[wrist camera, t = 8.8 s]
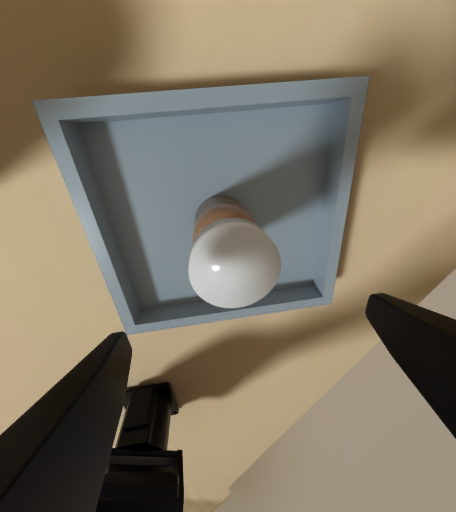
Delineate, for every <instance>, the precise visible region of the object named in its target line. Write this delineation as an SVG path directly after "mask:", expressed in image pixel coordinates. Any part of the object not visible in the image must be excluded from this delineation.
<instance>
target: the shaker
mask: <svg viewBox="0 0 456 512" xmlns="http://www.w3.org/2000/svg"><path fill="white" fill-rule="evenodd" d="M280 271H281V258H280V254H279V251H278V249H277V247H276V245H275V244H274V242H273V241H272V240H271V239H270V237H269V236H268V235H267V234H266V232H265V231H264V230H263V229H262V228H261V227H260V226H258V225H257V224H256V222H255V221H254V220H253V218H252V217H251V216H250V215H249V213H248V212H247V211H246V209H245V208H244V207H243V205H242V204H241V203H240V202H239V201H238V200H236V199H235V198H233V197H231V196H227V195H216V196H212V197H210V198H208V199H206V200H205V201H204V202H202V204H201V205H200V206H199V207H198V209H197V211H196V214H195V219H194V231H193V244H192V247H191V250H190V257H189V269H188V273H189V279H190V283H191V285H192V287H193V289H194V290H195V292H196V293H197V294H198V295H199V296H200V297H201V298H202V299H203V300H205V301H206V302H208V303H210V304H212V305H215V306H218V307H222V308H240V307H245V306H248V305H251V304H253V303H255V302H257V301H259V300H260V299H262V298H263V297H265V296H266V295H267V294H268V293H269V292H270V291H271V290H272V288H273V287H274V286H275V284H276V282H277V280H278V278H279V275H280Z"/></svg>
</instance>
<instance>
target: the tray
mask: <svg viewBox="0 0 456 512" xmlns="http://www.w3.org/2000/svg"><path fill="white" fill-rule="evenodd" d="M369 77H370V76H358V77H345V78H331V79H317V80H304V81H290V82H277V83H263V84H249V85H236V86H222V87H209V88H195V89H181V90H168V91H154V92H141V93H127V94H113V95H100V96H86V97H73V98H59V99H45V100H32V103H33V106H34V108H35V110H36V113H37V115H38V118H39V120H40V123H41V125H42V128H43V130H44V133H45V135H46V137H47V140H48V142H49V145H50V147H51V150H52V152H53V155H54V157H55V160H56V162H57V164H58V167H59V169H60V172H61V174H62V177H63V179H64V182H65V184H66V187H67V189H68V191H69V194H70V196H71V199H72V201H73V204H74V206H75V209H76V211H77V214H78V216H79V218H80V221H81V223H82V226H83V228H84V231H85V233H86V236H87V238H88V241H89V243H90V245H91V248H92V250H93V253H94V255H95V258H96V260H97V263H98V265H99V268H100V270H101V272H102V275H103V277H104V280H105V282H106V285H107V287H108V290H109V292H110V295H111V297H112V299H113V302H114V304H115V307H116V309H117V312H118V314H119V317H120V319H121V322H122V324H123V326H124V329H125V331H126V334H127V335H130V334H136V333H143V332H150V331H156V330H163V329H169V328H176V327H183V326H189V325H196V324H202V323H209V322H215V321H222V320H229V319H235V318H242V317H248V316H255V315H261V314H268V313H275V312H281V311H288V310H294V309H301V308H307V307H314V306H321V305H327V304H332V298H333V292H334V286H335V280H336V274H337V268H338V262H339V256H340V250H341V244H342V238H343V232H344V226H345V220H346V215H347V209H348V203H349V197H350V191H351V185H352V179H353V173H354V167H355V161H356V155H357V149H358V143H359V137H360V131H361V125H362V119H363V113H364V107H365V101H366V95H367V89H368V83H369ZM216 195H227V196H231V197H233V198H235V199H236V200H238V201H239V202H240V203H241V204H242V205H243V207H244V208H245V209H246V211H247V212H248V213H249V215H250V216H251V217H252V218H253V220H254V221H255V222H256V224H257V225H258V226H260V227H261V228H262V229H263V230H264V231H265V232H266V234H267V235H268V236H269V237H270V239H271V240H272V241H273V242H274V244H275V245H276V247H277V249H278V251H279V254H280V258H281V271H280V275H279V278H278V280H277V282H276V284H275V286H274V287H273V288H272V290H271V291H270V292H269V293H268V294H267V295H266V296H265V297H263V298H262V299H260V300H259V301H257V302H255V303H253V304H251V305H248V306H245V307H240V308H222V307H218V306H215V305H212V304H210V303H208V302H206V301H205V300H203V299H202V298H201V297H200V296H199V295H198V294H197V293H196V292H195V290H194V289H193V287H192V285H191V283H190V279H189V273H188V269H189V257H190V250H191V247H192V244H193V231H194V219H195V214H196V211H197V209H198V207H199V206H200V205H201V204H202V202H204V201H205V200H206V199H208V198H210V197H212V196H216Z"/></svg>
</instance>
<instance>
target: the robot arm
mask: <svg viewBox="0 0 456 512" xmlns="http://www.w3.org/2000/svg"><path fill="white" fill-rule="evenodd" d="M365 313H366V317H367V319H368V320H369V322H370V323H371V325H372V326H373V328H374V329H375V331H376V333H377V334H378V336H379V337H380V339H381V340H382V342H383V343H384V345H385V346H386V348H387V350H388V351H389V353H390V354H391V356H392V357H393V358H394V360H395V361H396V362H397V364H399V366H400V367H401V369H402V370H403V371H404V373H405V374H406V375H407V377H408V378H409V379H410V380H411V382H412V383H413V384H414V386H415V387H416V388H417V389H418V391H419V392H420V393H421V395H422V396H423V397H424V398H425V400H426V401H427V402H428V404H429V405H430V406H431V408H432V409H433V410H434V411H435V413H436V414H437V415H438V417H439V418H440V419H441V420H442V422H443V423H444V424H445V426H446V427H447V428H448V429H449V431H450V432H451V433H452V435H453V436H454V437H455V439H456V320H455V319H452V318H450V317H447V316H444V315H442V314H439V313H436V312H433V311H431V310H428V309H425V308H423V307H420V306H417V305H414V304H412V303H409V302H406V301H404V300H401V299H398V298H395V297H393V296H390V295H387V294H385V293H376V294H372V295H370V296H369V299H368V303H367V307H366V311H365ZM131 358H132V348H131V345H130V343H129V340H128V338H127V335H126V333H125V332H116V333H112V334H110V335H109V336H108V337H107V338H106V339H104V340H103V341H102V342H101V343H100V344H99V345H98V346H97V347H96V348H95V349H94V350H92V351H91V352H90V353H89V354H88V355H87V356H86V357H85V358H84V359H83V360H82V361H81V362H79V363H78V364H77V365H76V366H75V367H74V368H73V369H72V370H71V371H70V372H69V373H67V374H66V375H65V376H64V377H63V378H62V379H61V380H60V381H59V382H58V383H57V384H55V385H54V386H53V387H52V388H51V389H50V390H49V391H48V392H47V393H46V394H45V395H44V396H42V397H41V398H40V399H39V400H38V401H37V402H36V403H35V404H34V405H33V406H32V407H30V408H29V409H28V410H27V411H26V412H25V413H24V414H23V415H22V416H21V417H20V418H18V419H17V420H16V421H15V422H14V423H13V424H12V425H11V426H10V427H9V428H8V429H6V430H5V431H4V432H3V433H2V434H1V435H0V512H183V503H184V484H183V456H182V450H177V451H170V450H167V445H168V436H169V426H170V417H171V415H176V414H178V411H179V408H178V405H177V402H176V399H175V396H174V393H173V390H172V387H171V385H170V384H169V383H164V384H158V385H152V386H146V387H141V388H135V389H129V390H126V389H127V383H128V376H129V370H130V364H131ZM123 406H124V407H125V409H126V411H125V415H124V418H123V422H122V426H121V429H120V433H119V436H118V440H117V443H116V447H115V448H112V446H113V442H114V439H115V435H116V431H117V427H118V424H119V420H120V416H121V412H122V409H123Z"/></svg>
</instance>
